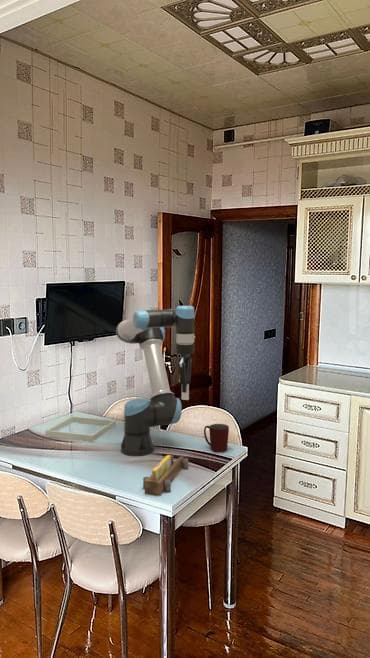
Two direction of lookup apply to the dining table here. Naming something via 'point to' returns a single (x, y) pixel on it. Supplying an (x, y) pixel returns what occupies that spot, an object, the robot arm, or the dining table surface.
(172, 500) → the dining table surface
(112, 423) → the tray rim
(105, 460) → the dining table surface
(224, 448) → the mug
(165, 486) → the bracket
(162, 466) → the candy box
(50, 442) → the dining table surface
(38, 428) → the dining table surface
